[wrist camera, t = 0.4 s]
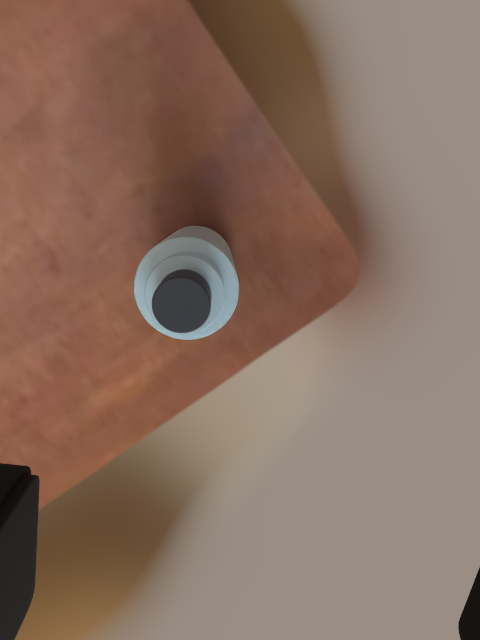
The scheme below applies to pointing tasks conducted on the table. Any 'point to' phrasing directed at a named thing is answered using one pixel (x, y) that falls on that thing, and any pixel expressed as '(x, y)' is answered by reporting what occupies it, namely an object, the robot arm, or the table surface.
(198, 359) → the table surface
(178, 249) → the loose bottle
